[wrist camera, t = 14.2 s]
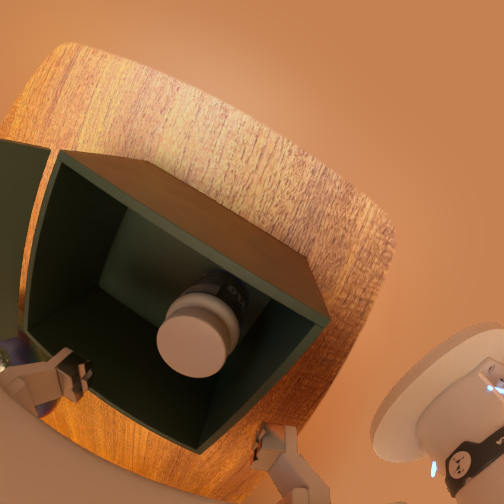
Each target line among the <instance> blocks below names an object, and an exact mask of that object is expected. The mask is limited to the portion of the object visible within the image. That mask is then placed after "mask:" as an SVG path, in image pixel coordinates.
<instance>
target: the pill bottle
mask: <svg viewBox="0 0 504 504" xmlns="http://www.w3.org/2000/svg"><path fill="white" fill-rule="evenodd" d="M248 301H249V299H248V291H247V288H246V286H245V284H244V283H243V281H242V280H241V279H240V278H238V277H236V276H235V275H233V274H231V273H230V272H228V271H227V270H221V269H214V270H209V271H207V272H205V273H203V274H201V275H200V276H199V277H198V278H197V279H196V280H195V281H194V282H193V283H192V284H191V285H190V286H189V287H188V288H187V289H186V290H185V291H184V292H183V293H182V294H181V295H180V296H179V297H178V298H177V299H176V300H175V301H174V302H173V303H172V305H171V306H170V308H169V309H168V312H167V314H166V319H165V321H164V322H163V324H162V325H161V326H160V328H159V330H158V333H157V347H158V350H159V352H160V355H161V356H162V358H163V359H164V361H165V362H166V363H167V364H168V365H169V366H170V367H171V368H172V369H174V370H175V371H177V372H179V373H181V374H183V375H186V376H189V377H194V378H203V377H208V376H211V375H213V374H215V373H216V372H218V371H219V370H220V369H221V368H222V366H223V365H224V363H225V361H226V358H227V356H228V355H229V354H230V353H231V352H232V351H233V350H234V348H235V347H236V345H237V343H238V340H239V337H240V333H241V329H242V325H243V322H244V318H245V315H246V311H247V308H248Z"/></svg>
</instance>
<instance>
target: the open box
mask: <svg viewBox="0 0 504 504" xmlns="http://www.w3.org/2000/svg"><path fill="white" fill-rule="evenodd" d="M214 269H221V270H227V271H228V272H230V273H231V274H233V275H235V276H236V277H238V278H240V279H241V280H242V281H243V283H244V284H245V286H246V288H247V291H248V299H249V301H248V308H247V311H246V315H245V318H244V322H243V325H242V329H241V333H240V337H239V340H238V343H237V345H236V347H235V348H234V350H233V351H232V352H231V353H230V354H229V355H228V356H227V358H226V361H225V363H224V365H223V366H222V368H221V369H220V370H219V371H218V372H216V373H215V374H213V375H211V376H208V377H203V378H194V377H189V376H186V375H183V374H181V373H179V372H177V371H175V370H174V369H172V368H171V367H170V366H169V365H168V364H167V363H166V362H165V361H164V359H163V358H162V356H161V355H160V352H159V350H158V347H157V333H158V330H159V328H160V326H161V325H162V324H163V322H164V321H165V319H166V314H167V312H168V309H169V308H170V306H171V305H172V303H173V302H174V301H175V300H176V299H177V298H178V297H179V296H180V295H181V294H182V293H183V292H184V291H185V290H186V289H187V288H188V287H189V286H190V285H191V284H192V283H193V282H194V281H195V280H196V279H197V278H198V277H199V276H200V275H201V274H203V273H205V272H207V271H209V270H214ZM330 321H331V319H330V316H329V314H328V311H327V308H326V306H325V303H324V301H323V298H322V296H321V293H320V291H319V288H318V286H317V284H316V281H315V279H314V276H313V274H312V271H311V269H310V267H309V264H308V262H307V260H306V257H304V256H303V255H301V254H299V253H298V252H296V251H295V250H293V249H292V248H290V247H288V246H287V245H285V244H284V243H282V242H281V241H279V240H277V239H276V238H274V237H273V236H271V235H269V234H268V233H266V232H265V231H263V230H261V229H260V228H258V227H257V226H255V225H253V224H252V223H250V222H249V221H247V220H245V219H244V218H242V217H240V216H239V215H237V214H236V213H234V212H232V211H231V210H229V209H227V208H226V207H224V206H223V205H221V204H219V203H218V202H216V201H214V200H213V199H211V198H209V197H208V196H206V195H204V194H203V193H201V192H199V191H198V190H196V189H194V188H193V187H191V186H189V185H188V184H186V183H184V182H183V181H181V180H179V179H177V178H176V177H174V176H172V175H171V174H169V173H167V172H166V171H164V170H162V169H160V168H159V167H157V166H155V165H154V164H152V163H150V162H148V161H144V160H138V159H131V158H125V157H118V156H111V155H103V154H96V153H87V152H79V151H69V150H60V151H59V154H58V157H57V159H56V162H55V164H54V167H53V170H52V173H51V176H50V179H49V182H48V185H47V188H46V191H45V195H44V198H43V201H42V205H41V209H40V212H39V216H38V220H37V225H36V229H35V233H34V238H33V243H32V248H31V254H30V260H29V266H28V274H27V282H26V291H25V303H24V321H23V331H24V333H25V334H26V335H27V336H28V337H29V338H30V339H31V340H32V341H33V342H34V343H35V344H36V345H37V346H38V347H39V348H40V349H41V350H42V351H43V352H44V353H45V354H46V355H47V356H48V357H50V358H53V357H54V356H55V355H56V354H57V353H58V352H60V351H61V350H62V349H63V348H66V347H67V348H69V349H71V350H72V351H74V352H76V353H78V354H79V355H81V356H83V357H84V358H86V359H88V360H90V361H91V362H92V368H91V371H92V373H93V383H92V385H91V387H90V388H89V389H88V390H89V391H90V392H92V393H93V394H94V395H96V396H97V397H98V398H100V399H101V400H103V401H104V402H105V403H107V404H108V405H110V406H111V407H113V408H114V409H116V410H117V411H119V412H120V413H122V414H123V415H125V416H127V417H128V418H130V419H131V420H133V421H135V422H136V423H138V424H140V425H141V426H143V427H145V428H147V429H148V430H150V431H152V432H154V433H156V434H157V435H159V436H161V437H163V438H165V439H167V440H169V441H171V442H173V443H175V444H177V445H179V446H181V447H183V448H185V449H188V450H190V451H192V452H194V453H196V454H199V455H200V454H202V453H203V452H204V451H205V450H206V449H208V448H209V447H210V446H211V445H212V444H214V443H215V442H216V441H217V440H218V439H219V438H220V437H222V436H223V435H224V434H225V433H226V432H227V431H228V430H229V429H231V428H232V427H233V426H234V425H235V424H236V423H237V422H238V421H239V420H240V419H241V418H242V417H243V416H244V415H246V414H247V413H248V412H249V411H250V410H251V409H252V408H253V407H254V406H255V405H256V404H257V403H258V402H259V401H260V400H261V399H262V398H263V397H264V396H265V395H266V394H267V393H268V392H269V391H270V390H271V389H272V388H273V387H274V385H275V384H276V383H277V382H278V381H279V380H280V379H281V378H282V377H283V376H284V375H285V374H286V373H287V372H288V371H289V369H290V368H291V367H292V366H293V365H294V364H295V363H296V362H297V361H298V359H299V358H300V357H301V356H302V355H303V354H304V353H305V351H306V350H307V349H308V348H309V347H310V346H311V344H312V343H313V342H314V341H315V340H316V338H317V337H318V336H319V335H320V334H321V332H322V331H323V330H324V328H325V327H326V326H327V325H328V324H329V322H330Z"/></svg>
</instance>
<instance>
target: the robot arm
mask: <svg viewBox="0 0 504 504" xmlns="http://www.w3.org/2000/svg"><path fill="white" fill-rule="evenodd" d="M91 368H92V362H91V361H90V360H88V359H86V358H84V357H83V356H81V355H79V354H78V353H76V352H74V351H72V350H71V349H69V348H67V347H66V348H63V349H62V350H61V351H60V352H58V353H57V354H56V355H55V356H54V357H53V358H51V359H50V360H49V361H48V362H47V363H46V362H45V361H44V362H38V363H31V364H25V365H18V366H10V367H7V368H6V369H4V370H3V371H2V372H1V373H0V504H237V503H231V502H226V501H221V500H216V499H212V498H208V497H204V496H200V495H196V494H192V493H189V492H185V491H182V490H179V489H176V488H173V487H170V486H167V485H164V484H161V483H158V482H155V481H153V480H150V479H147V478H145V477H142V476H140V475H138V474H135V473H133V472H131V471H128V470H126V469H124V468H122V467H120V466H117V465H115V464H113V463H111V462H109V461H107V460H105V459H103V458H101V457H99V456H98V455H96V454H94V453H92V452H90V451H89V450H87V449H85V448H83V447H82V446H80V445H78V444H77V443H75V442H73V441H72V440H70V439H69V438H67V437H65V436H64V435H62V434H61V433H59V432H58V431H56V430H55V429H53V428H52V427H51V426H49V425H48V424H46V423H45V422H44V421H42V420H41V419H40V418H38V414H37V411H36V409H35V407H34V406H36V405H39V404H42V403H45V402H48V401H51V400H54V399H57V398H60V397H62V396H65V397H66V398H68V399H70V400H71V401H73V402H75V403H77V402H78V401H79V400H80V399H81V397H82V396H83V391H86V390H88V389H89V388H90V387H91V385H92V383H93V373H92V371H91ZM415 434H416V436H417V438H418V439H419V440H420V442H419V448H420V450H421V451H426V453H427V454H428V456H429V458H430V459H431V461H432V463H433V466H432V471H431V474H432V477H434V475H435V471H436V469H437V471H438V473H439V474H440V475H441V476H446V478H445V482H446V485H447V487H448V488H447V489H448V492H450V494H451V496H452V497H453V498H456V500H457V503H458V504H504V365H503V364H501V363H500V362H498V361H496V360H494V359H493V358H491V357H487V358H486V359H484V360H483V361H482V362H481V363H480V364H479V365H478V366H477V367H476V368H475V369H474V370H473V371H472V372H470V373H469V374H467V375H466V376H464V377H462V378H461V379H459V380H457V381H456V382H455V383H453V384H452V385H451V386H449V387H448V388H447V389H446V390H444V391H443V392H442V393H441V394H440V395H439V396H438V397H437V398H436V399H435V400H434V401H433V402H432V403H431V404H430V405H429V406H428V408H427V409H426V410H425V411H424V413H423V414H422V415H421V417H420V419H419V420H418V422H417V425H416V428H415ZM252 450H253V454H252V455H251V459H250V468H252V469H258V470H263V471H268V473H269V475H270V477H271V478H272V480H273V482H274V484H275V485H276V487H277V488H278V490H279V492H280V494H281V495H282V497H283V499H282V500H281V501H280V502H279V503H278V504H331V501H330V491H329V487H328V486H327V485H326V484H325V483H324V482H323V480H322V479H321V478H320V477H319V476H318V475H317V473H316V472H315V471H314V470H313V469H312V468H311V466H310V465H309V464H308V463H307V462H306V460H305V459H304V458H303V457H302V455H300V454H298V450H297V428H296V427H295V426H288V425H283V424H276V423H270V422H265V421H262V422H261V424H260V426H259V431H257V432H256V434H255V437H254V440H253V444H252ZM391 504H407V503H405V502H396V503H391Z"/></svg>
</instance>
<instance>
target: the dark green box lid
mask: <svg viewBox="0 0 504 504" xmlns="http://www.w3.org/2000/svg"><path fill="white" fill-rule="evenodd" d="M50 152H51V150H50V149H49V148H46V147H41V146H37V145H32V144H27V143H21V142H16V141H11V140H5V139H0V340H4V339H9V338H13V337H17V336H18V300H19V287H20V276H21V268H22V260H23V254H24V247H25V242H26V236H27V231H28V226H29V222H30V218H31V213H32V209H33V205H34V202H35V198H36V194H37V191H38V187H39V184H40V181H41V178H42V175H43V172H44V169H45V166H46V163H47V160H48V157H49V155H50Z"/></svg>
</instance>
